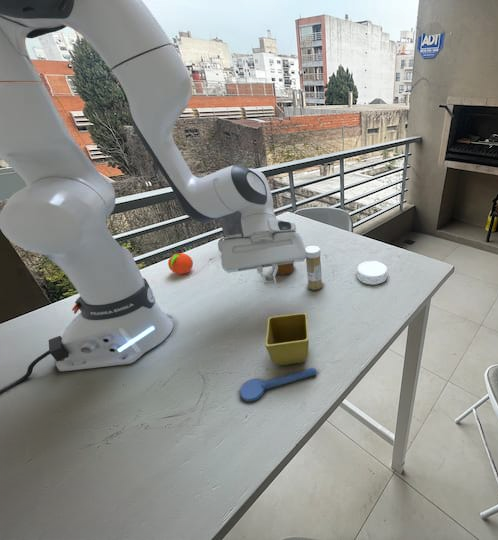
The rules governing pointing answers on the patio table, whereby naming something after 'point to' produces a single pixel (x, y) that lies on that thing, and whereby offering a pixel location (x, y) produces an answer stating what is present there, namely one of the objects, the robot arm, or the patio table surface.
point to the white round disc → (372, 272)
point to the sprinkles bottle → (313, 267)
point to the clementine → (180, 263)
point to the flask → (231, 224)
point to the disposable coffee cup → (285, 269)
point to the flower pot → (287, 338)
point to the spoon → (270, 384)
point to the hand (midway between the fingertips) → (270, 283)
